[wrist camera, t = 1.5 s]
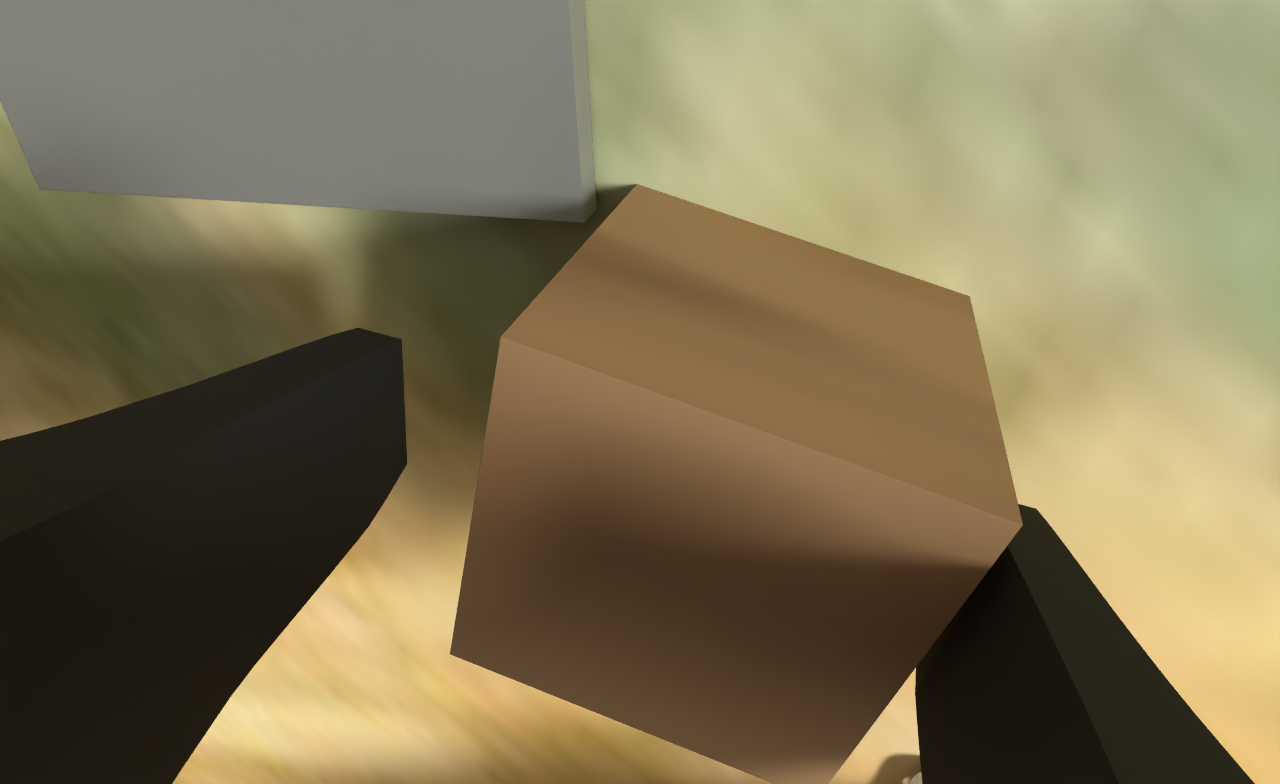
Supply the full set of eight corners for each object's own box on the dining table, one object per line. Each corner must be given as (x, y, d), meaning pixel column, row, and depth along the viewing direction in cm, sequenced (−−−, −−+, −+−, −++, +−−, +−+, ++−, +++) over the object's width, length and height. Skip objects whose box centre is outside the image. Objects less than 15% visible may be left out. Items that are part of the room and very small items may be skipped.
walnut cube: (835, 535, 14) (815, 800, 10) (574, 438, 14) (450, 653, 10) (969, 294, 11) (1022, 525, 7) (638, 182, 11) (501, 336, 7)
